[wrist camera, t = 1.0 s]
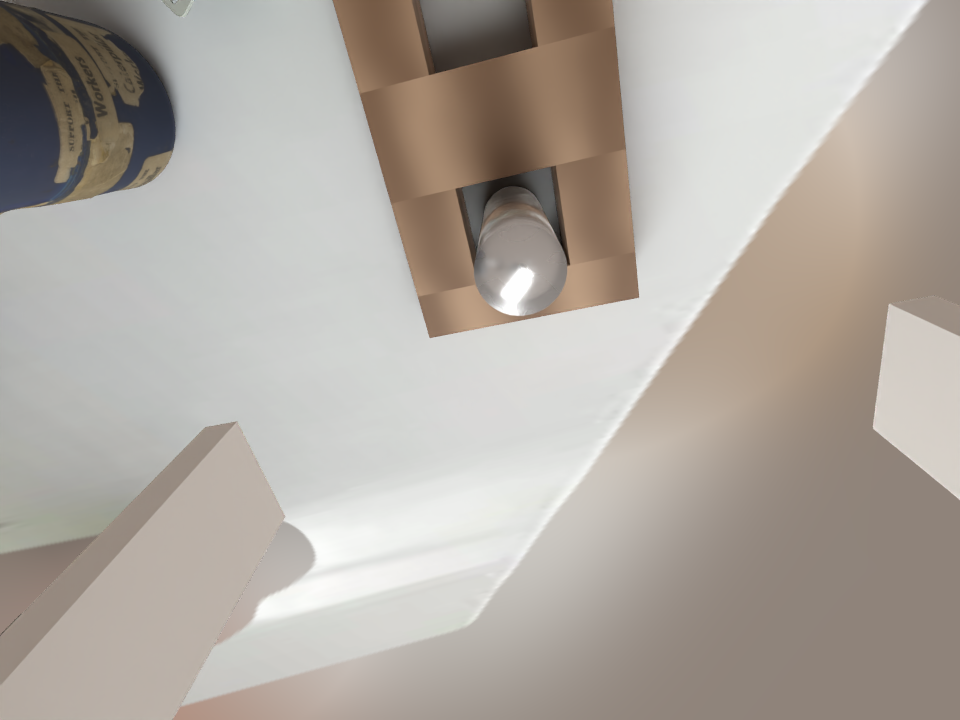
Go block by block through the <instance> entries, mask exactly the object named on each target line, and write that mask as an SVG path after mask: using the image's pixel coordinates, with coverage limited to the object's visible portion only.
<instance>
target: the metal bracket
mask: <svg viewBox="0 0 960 720" xmlns="http://www.w3.org/2000/svg"><path fill="white" fill-rule="evenodd" d="M161 1H162V2H163V3H164V4H165V5H166V6H167V7H169V8H170V9H171V10H172V11H173V12H174V13H175V14H176V15H178V16H179V17H181V18H183V17H185V16H186V15H187V14H188V12H189V10H190V8H191V6H192V4H193V2H194V0H178V1H177V2H176V3H173V2H172V0H161Z"/></svg>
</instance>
